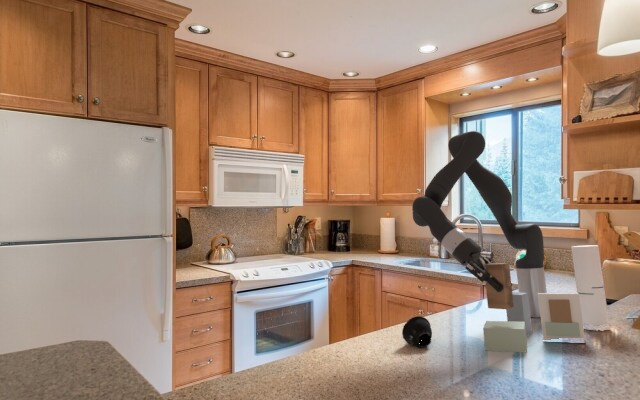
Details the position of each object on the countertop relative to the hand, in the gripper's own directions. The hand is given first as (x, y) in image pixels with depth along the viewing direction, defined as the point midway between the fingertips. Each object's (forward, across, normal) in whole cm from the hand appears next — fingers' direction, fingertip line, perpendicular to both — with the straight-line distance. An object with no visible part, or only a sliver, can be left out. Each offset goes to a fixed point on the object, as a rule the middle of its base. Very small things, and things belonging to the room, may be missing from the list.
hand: (505, 288), depth 115 cm
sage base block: (+10, 0, +12) cm, 16 cm away
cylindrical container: (+20, +32, +2) cm, 38 cm away
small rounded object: (-6, -8, +29) cm, 31 cm away
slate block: (+8, +16, +14) cm, 23 cm away
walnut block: (+2, 0, +5) cm, 6 cm away
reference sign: (+17, +12, +4) cm, 22 cm away
